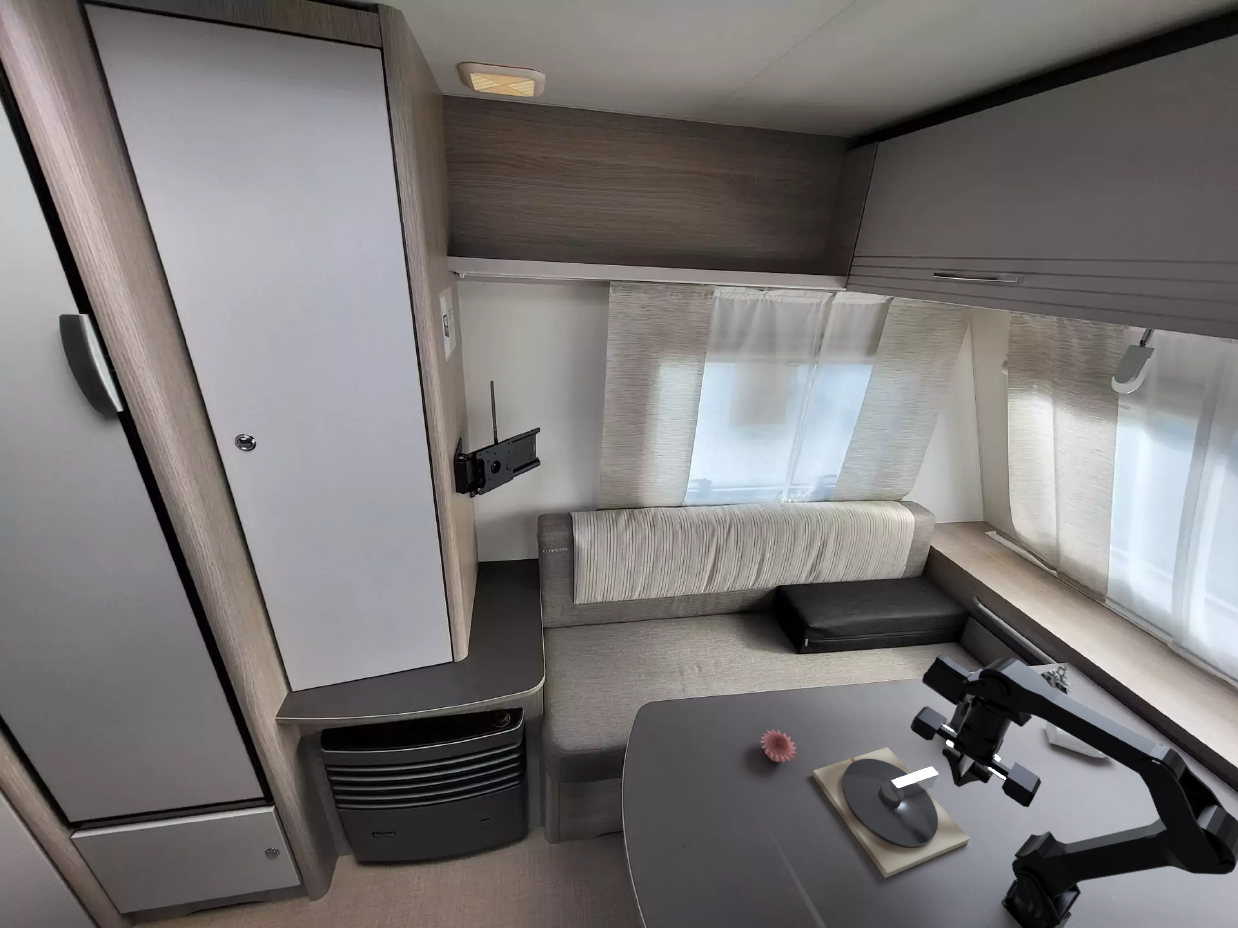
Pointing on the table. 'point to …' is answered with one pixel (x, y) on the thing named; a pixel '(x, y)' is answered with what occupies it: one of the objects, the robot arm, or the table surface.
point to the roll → (1070, 741)
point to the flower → (778, 746)
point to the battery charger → (958, 716)
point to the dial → (892, 801)
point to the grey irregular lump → (1059, 678)
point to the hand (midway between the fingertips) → (957, 784)
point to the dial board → (880, 851)
